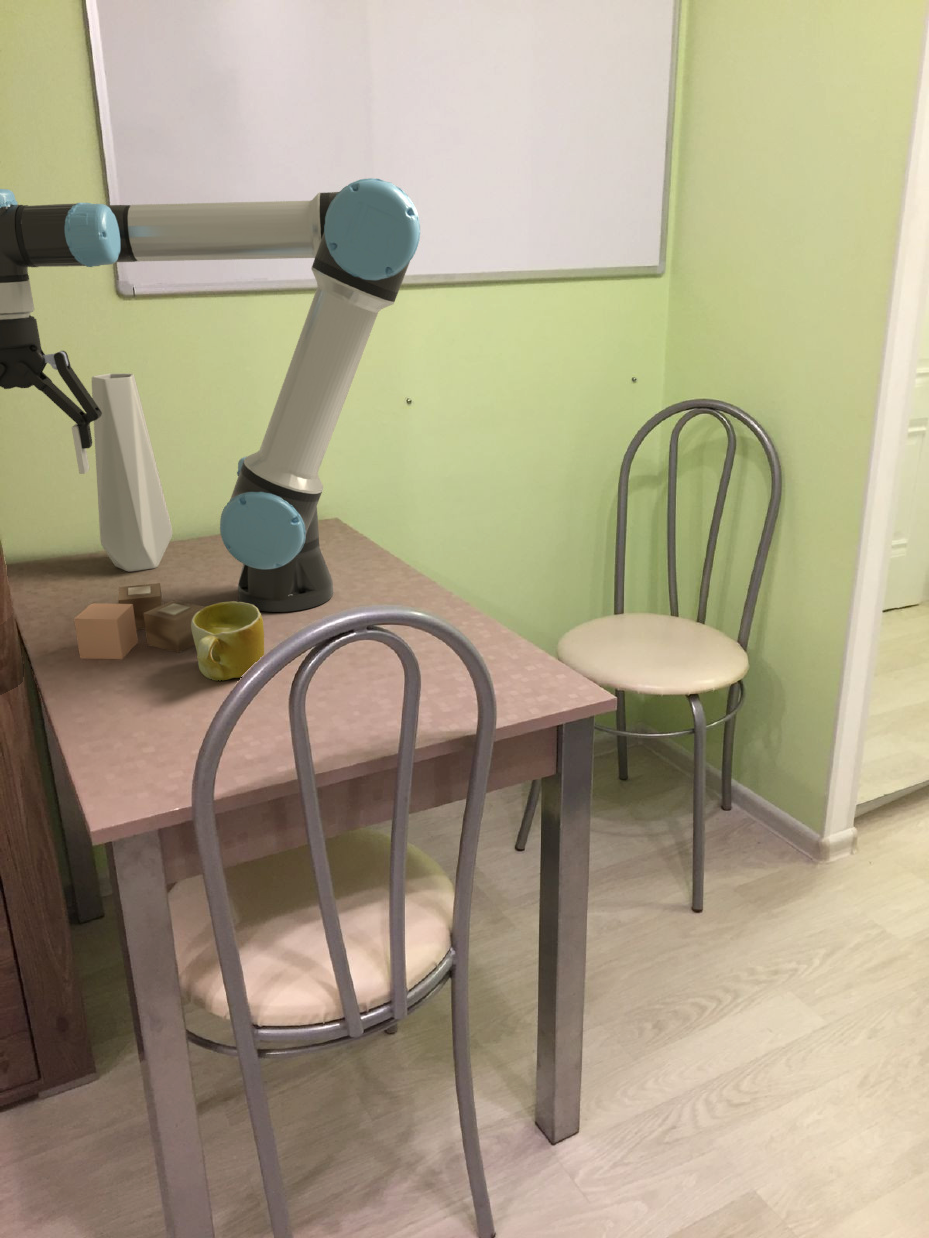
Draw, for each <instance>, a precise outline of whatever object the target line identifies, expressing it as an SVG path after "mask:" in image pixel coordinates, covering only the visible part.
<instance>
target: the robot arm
mask: <svg viewBox="0 0 929 1238" xmlns="http://www.w3.org/2000/svg"><path fill="white" fill-rule="evenodd" d="M420 222H421V221H420V217H419V214H418V210H417V208H416V206H415V204H414V203H413V201H412V200H411V198H410V197H409V194H407V193H406V192H405V191H404V190H403V189H402V188H401V187H398V186H397V185H394V184H393V183H392V182H389V181H385V180H383V179H381V178H373V177H371V178H362V179H358V180H356V181H353V182H350V183H349V184H347V185H345V186H344V187H343V188H342V189H341V190H340V191H333V192H332V191H331V192H317V194H316V195H315V196H314V197H313V198H312V199H311V200H288V201H287V200H286V201H285V200H283V201H282V200H281V201H279V200H278V201H277V200H276V201H275V200H274V201H244V202H243V201H241V202H237V201H236V202H199V203H198V202H197V203H196V202H195V203H194V202H193V203H190V202H189V203H160V204H159V203H153V204H152V203H151V204H150V203H149V204H147V203H146V204H109V205H107V204H103V203H90V202H77V203H58V204H40V205H39V204H38V205H27V204H25V205H24V204H18V201H17V200H16V197H15V194H14V192H13V191H12V190H11V189H8V188H4V189H3V188H0V388H2V389H4V390H10V389H14V388H20V389H29V388H31V387H33V386H34V387H35V388H36V389H37V390H38V391H40V392H42V393H43V394H44V395H45V396H46V397H47V398H49V399H50V401H52V402H53V403H54V404H55V405H56V406H57V407H58V408H59V409H60V410H61V411H62V412H63V413H64V414H65V415H67V416H68V417H69V418H70V419H71V420H72V421H73V422H74V423H75V424H74V425H73V426H71V431H72V437H73V444H74V449H75V456H76V461H77V467H78V472H79V473H78V474H79V475H84V474H86V473H87V472H88V471H89V470H90V465H89V458H88V453H87V449H90V448H91V447H92V446H93V438H92V432H91V425H90V424H91V423H92V422H94V421H95V420H97V419H98V418H99V417H101V415H102V412H101V410H100V409H99V407H98V406H97V404H96V403H95V401H94V400H93V398H92V396H91V394H90V393H89V391H88V389H87V388H86V386H85V385H84V383H83V382H82V381H81V379H80V378H79V377H78V375H77V374H76V372H75V371H74V369H73V368H72V365H71V363H70V359H69V358H70V357H69V355H68V353H67V351H65V350H60V351H58V352H55V353H49V354H48V353H47V354H45V352H44V351H43V349H42V344H41V338H40V333H39V328H38V323H37V322H38V321H37V318H35V316H32V315H31V313H33V312H34V311H35V305H34V300H33V299H34V298H33V295H32V294H33V292H32V287H31V281H30V275H29V271H28V269H29V268H40V267H41V268H43V267H44V268H45V267H47V268H48V267H50V268H51V267H59V268H60V267H67V268H68V267H86V268H87V267H88V268H93V267H100V266H108V265H113V264H115V263H137V262H171V261H172V262H174V261H175V262H176V261H178V262H180V261H181V262H182V261H183V262H184V261H222V260H223V261H224V260H227V261H228V260H229V261H230V260H231V261H232V260H266V259H267V260H271V259H273V260H274V259H278V260H279V259H280V260H281V259H285V260H286V259H314V260H313V263H312V265H311V271H312V273H313V277H314V278H315V281H316V285H317V286H316V290H315V292H314V296H313V298H312V301H311V303H310V307H309V309H308V312H307V314H306V317H305V321H304V323H303V326H302V328H301V329H302V330H301V332H300V335H299V337H298V340H297V343H296V345H295V348H294V352H293V354H292V357H291V360H290V363H289V366H288V369H287V372H286V375H285V378H284V380H283V382H282V386H281V389H280V391H279V395H278V397H277V400H276V403H275V405H274V409H273V411H272V414H271V416H270V420H269V422H268V426H267V427H266V431H265V434H264V435H263V436H264V437H263V440H262V442H261V445H260V448H259V450H258V451H256V452H255V453H254V452H253V453H252V454H250V455H247V456H243V457H241V458H240V459H239V460H238V461H237V462H238V463H237V471H236V475H237V479H236V482H235V485H234V487H233V490H232V493H231V496H230V499H229V501H228V502H226V503H227V504H226V505H225V506H224V508H223V509H222V511H221V514H220V522H219V532H220V536H221V537H220V538H221V540H222V543H223V545H224V546H225V548H226V550H227V551H228V553H229V554H230V555H231V556H232V557H233V558H234V559H235V560H237V561H238V562H240V564H242V567H241V571H240V575H239V579H238V584H237V593H238V594H237V597H238V602H244V603H249V604H252V605H254V606H256V607H257V608H258V610H259V612H260V611H261V612H267V613H270V612H272V613H278V612H279V613H286V612H287V613H288V612H297V611H303V610H307V609H311V608H315V607H318V606H320V605H322V604H324V603H327V602H328V601H329V600H330V599H332V598H333V595H334V584H333V583H334V581H333V578H332V575H331V573H330V570H329V567H328V565H327V564H326V560H325V558H324V556H323V554H322V550H321V548H320V532H319V518H318V517H319V515H318V504H319V500H320V498H321V495H322V493H323V491H324V485H323V483H322V480H321V478H320V477H319V470H320V468H321V465H322V462H323V459H324V458H325V455H326V452H327V450H328V447H329V443H330V441H331V440H332V439H331V438H332V436H333V433H334V431H335V428H336V425H337V423H338V419H339V418H340V415H341V413H342V410H343V407H344V405H345V401H346V399H347V396H348V394H349V392H350V388H351V386H352V384H353V380H354V378H355V374H356V372H357V370H358V367H359V364H360V362H361V359H362V357H363V354H364V351H365V349H366V346H367V343H368V340H369V339H370V338H369V337H370V336H371V332H372V330H373V329H374V328H373V327H374V325H375V321H376V319H377V317H378V314H379V312H381V310H384V309H385V308H388V307H390V306H393V305H394V304H395V301H396V299H397V297H398V293H399V292H400V289H401V287H402V284H403V281H404V278H405V276H406V273H407V270H408V268H409V265H410V263H411V261H412V259H413V258H414V256H415V254H416V252H417V249H418V247H419V242H420V237H421V224H420ZM47 364H49V365H50V366H51V368H52V369H54V370H55V371H57V372H58V374H59V376H60V377H61V379H62V381H64V383H65V384H66V386H67V387H68V389H69V390H70V392H71V393H72V395H73V396H74V398H75V399H76V401H77V402H78V403H79V405H80V406H81V407H79V405H77V404H76V403H75V402H74V401H73V400H72V399H71V398H70V397H69V396H68V395H66V393H64V391H62V390H61V389H60V387H58V386H57V385H56V384H55V383H54V382H53V380H52V379H51V378H50V377H49V376H48V375H46V373H44V372H43V371H44V369H45V368H46V366H47Z"/></svg>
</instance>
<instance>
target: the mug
mask: <svg viewBox="0 0 929 1238" xmlns="http://www.w3.org/2000/svg"><path fill="white" fill-rule="evenodd" d="M204 607H205V608H203V609H201V610H200V611H198V612H197V613H196V614H195V615H194V616H193V618H192V621H191V629H192V635H193V638H194V642H195V645H194V646H195V649H196V654H197V657H196V659H197V663H198V669H199V672H201V674H202V675H203V676H204V677H205V678H207V679H209V680H211V679H212V681H218V680H219V682H221V680H222V681H227V680H231V679H234V678H235V679H239V678H241V676H242V675H243V674H244V673H245V672H246V671H247V670H248V669H249V668H250V667H251V666H252V665H253V664H254V663H255V662H257V661H258V660H259V659H260V657H262V656H263V655H264V656H265V630H264V629H265V628H264V619H263V616H262V613H261V612H260V611H259V610H258V608H257V607H256V606H254V605H252V604H249V603H244V602H240V601H236V600H235V601H232V600H231V601H230V600H229V601H222V602H221V601H220V602H217V603H213V604H210V605H207V606H204Z"/></svg>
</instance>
